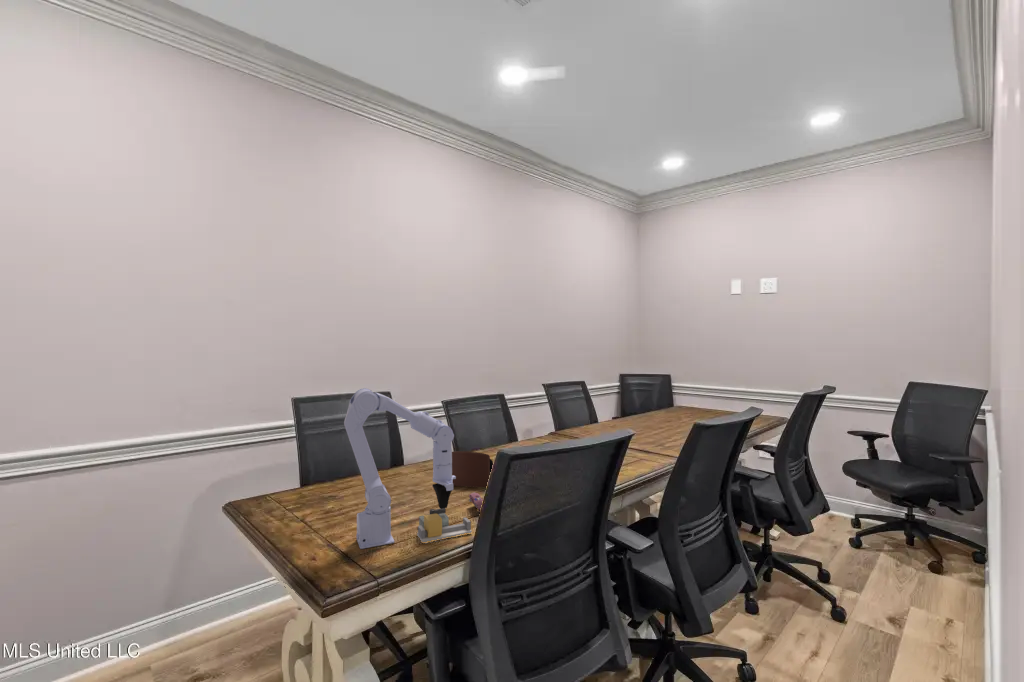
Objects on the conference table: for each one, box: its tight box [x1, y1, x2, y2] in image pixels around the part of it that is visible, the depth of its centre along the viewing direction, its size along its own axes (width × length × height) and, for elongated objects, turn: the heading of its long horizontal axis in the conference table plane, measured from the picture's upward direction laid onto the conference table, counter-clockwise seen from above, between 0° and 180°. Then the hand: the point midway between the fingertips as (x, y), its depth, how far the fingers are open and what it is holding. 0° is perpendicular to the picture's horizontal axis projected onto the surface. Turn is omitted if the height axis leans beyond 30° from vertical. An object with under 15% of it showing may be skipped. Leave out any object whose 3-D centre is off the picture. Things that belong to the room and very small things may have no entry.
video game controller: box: [468, 491, 484, 512], centre depth 160 cm, size 10×5×7 cm, turn 21°
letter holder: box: [452, 450, 494, 489], centre depth 191 cm, size 10×20×14 cm, turn 77°
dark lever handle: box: [429, 508, 447, 514], centre depth 147 cm, size 5×2×2 cm, turn 116°
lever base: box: [418, 513, 450, 528], centre depth 146 cm, size 8×5×3 cm, turn 116°
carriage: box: [423, 513, 442, 537], centre depth 138 cm, size 4×5×5 cm
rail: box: [416, 517, 473, 542], centre depth 140 cm, size 15×6×3 cm, turn 116°
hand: (443, 507), depth 144 cm, fingers closed
